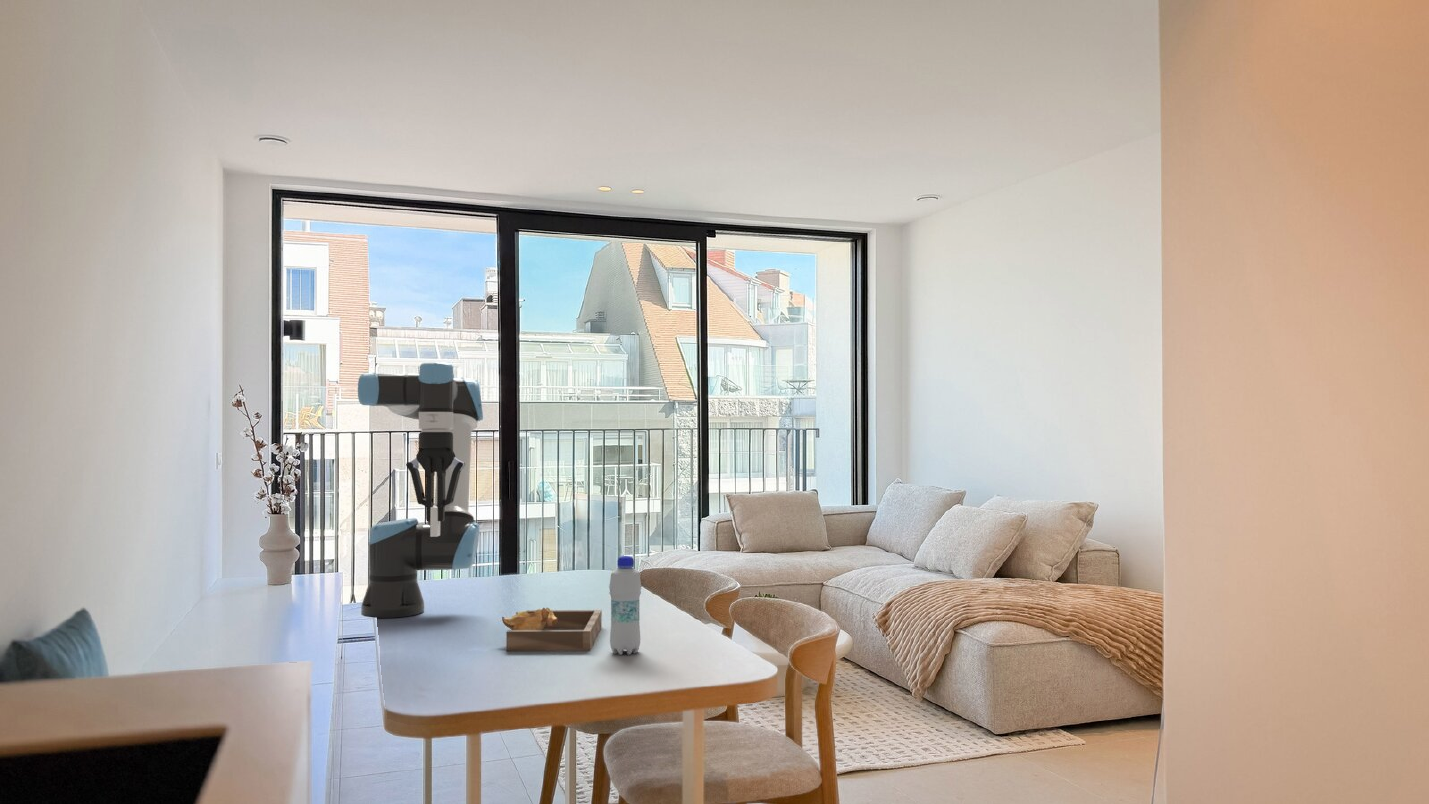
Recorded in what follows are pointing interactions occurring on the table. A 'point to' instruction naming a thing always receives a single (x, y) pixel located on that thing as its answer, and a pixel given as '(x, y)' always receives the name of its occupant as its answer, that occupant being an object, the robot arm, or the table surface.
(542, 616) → the golden dog figurine
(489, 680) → the table surface
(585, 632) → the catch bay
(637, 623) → the bottle
